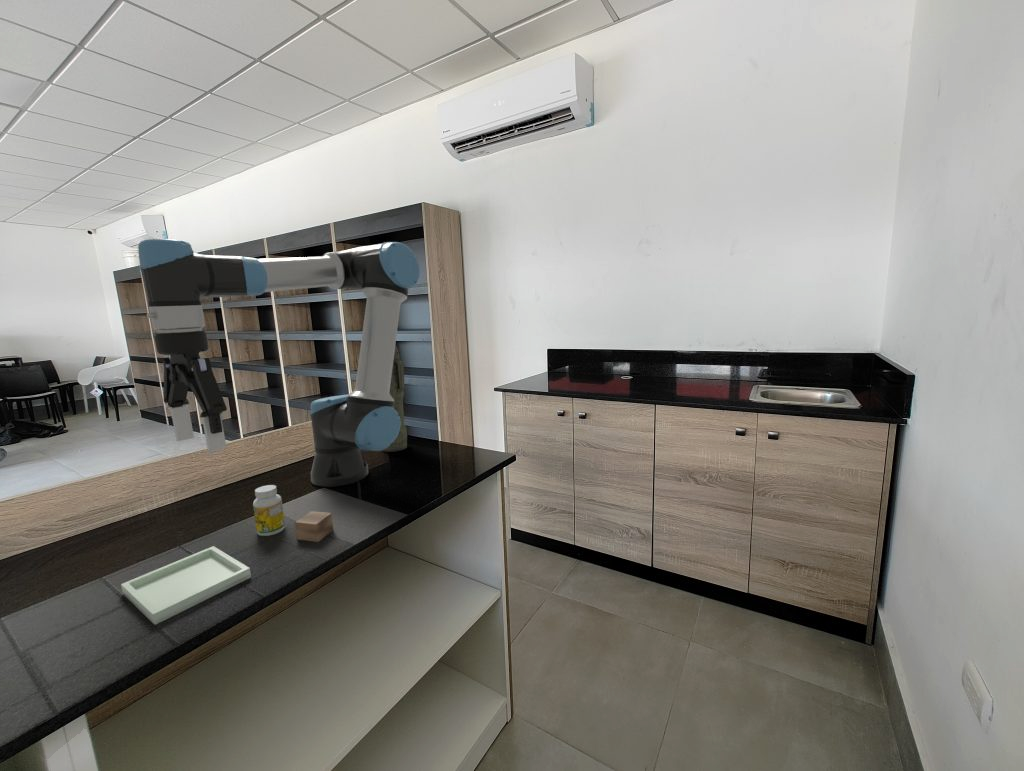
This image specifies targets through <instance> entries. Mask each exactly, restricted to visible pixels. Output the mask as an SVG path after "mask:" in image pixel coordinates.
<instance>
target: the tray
mask: <svg viewBox="0 0 1024 771" xmlns="http://www.w3.org/2000/svg"><path fill="white" fill-rule="evenodd" d="M251 578H252V575H251V569H250V567H249V566H247V565H246V564H244V563H242V562H241V561H239V560H237V559H236V558H234V557H233V556H230V555H229V554H227V553H226V552H224V551H223V550H221V549H219V548H217V547H216V546H215V545H213V546H210V547H208V548H205V549H202V550H201V551H198V552H196V553H193V554H190V555H189V556H186V557H183V558H181V559H179V560H177V561H174V562H171V563H169V564H167V565H164V566H162V567H159V568H157V569H154V570H152V571H149V572H146V573H144V574H142V575H139V576H138V577H136V578H133V579H130V580H128V581H126V582H122V583H121V584H120V586H121V591H122V594H123V596H124V597H125V598H127V600H128V601H129V602H131V603H132V604H133V605H134V606H135V607H136V608H137V609H138V610H139V611H140V613H142V614H143V615H144V616H145V617H146V618H147V619H148V620H149V621H150V622H151V623H152V624H153V625H154V626H155V625H158V624H160V623H162V622H163V621H166V620H169V619H170V618H172V617H174V616H176V615H178V614H180V613H182V612H185V611H186V610H188V609H190V608H192V607H194V606H196V605H199V604H200V603H202V602H204V601H206V600H208V599H210V598H213V597H214V596H216V595H218V594H220V593H222V592H225V591H226V590H228V589H230V588H232V587H235V586H237V585H238V584H241V583H242V582H243V583H244V581H247V580H248V579H251Z"/></svg>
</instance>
